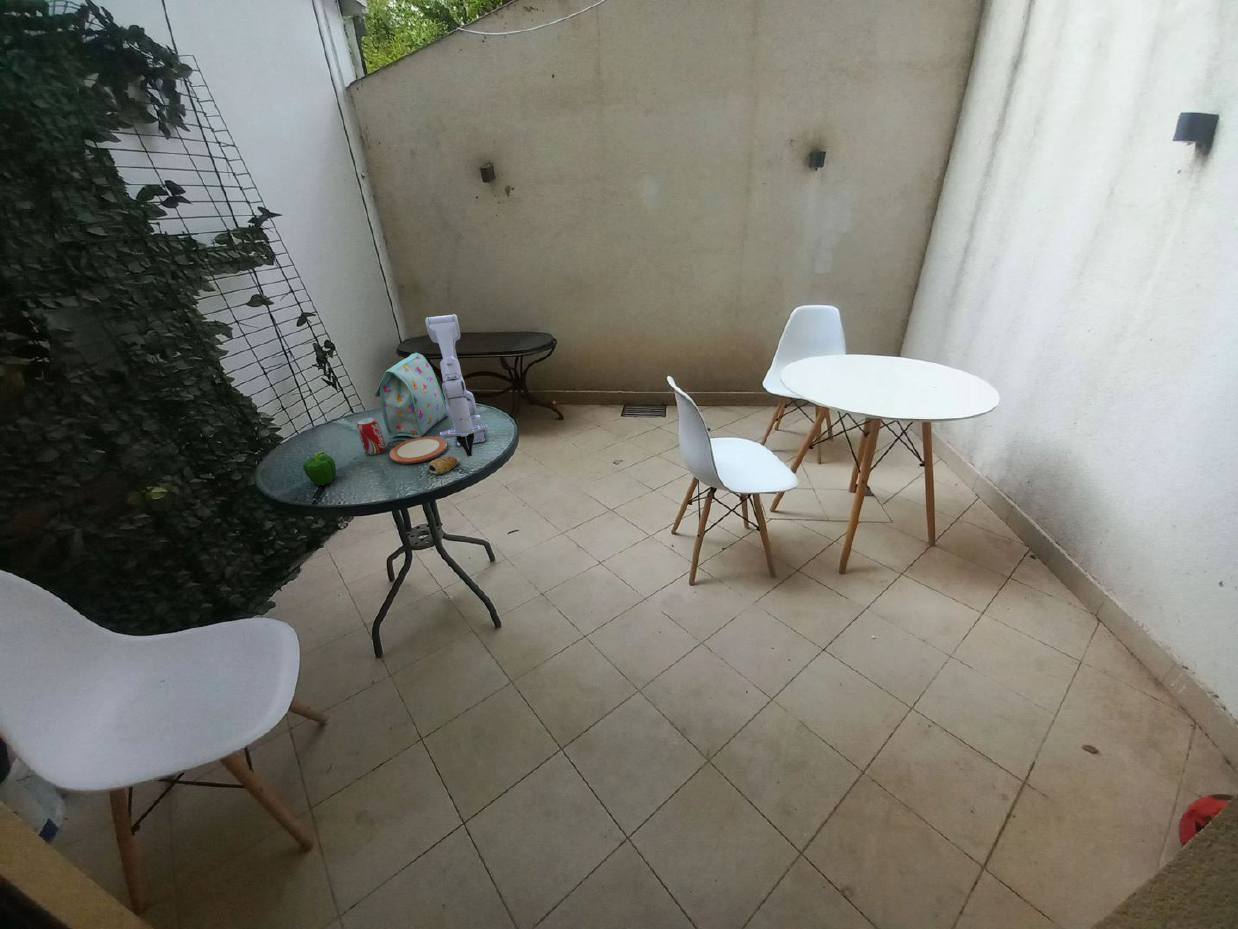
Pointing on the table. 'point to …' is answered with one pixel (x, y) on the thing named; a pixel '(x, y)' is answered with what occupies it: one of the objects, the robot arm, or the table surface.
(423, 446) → the plate
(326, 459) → the bell pepper
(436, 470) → the pastry
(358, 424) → the soda can
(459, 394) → the robot arm
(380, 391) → the lunch bag
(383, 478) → the table surface
